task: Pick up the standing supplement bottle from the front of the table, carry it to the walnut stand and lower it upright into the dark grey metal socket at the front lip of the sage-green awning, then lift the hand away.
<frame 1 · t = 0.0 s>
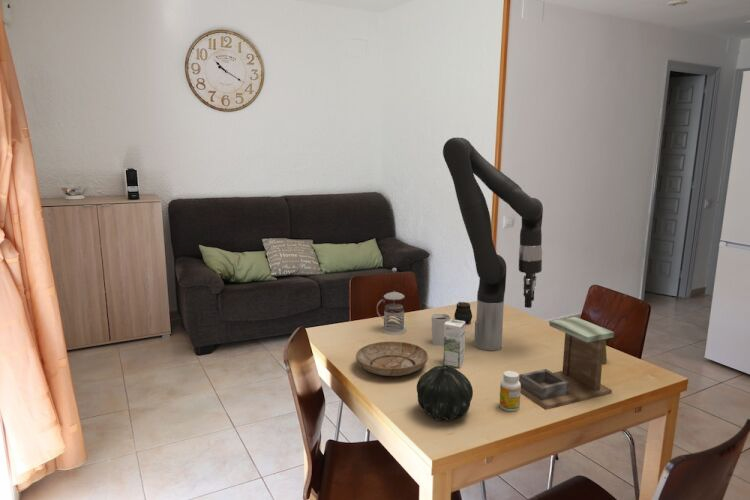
hand: (529, 303, 180), 17 cm above the table, tool pointing down, fingers open, 8 cm apart
squash: (444, 413, 141), on the table
syrup box: (453, 364, 173), on the table
awning stand: (562, 388, 155), on the table
cork: (597, 361, 175), on the table
mate gourd: (463, 323, 213), on the table
white mug: (440, 343, 191), on the table
french press: (391, 330, 204), on the table
ceramic bowl: (391, 368, 170), on the table
supplement bottle: (509, 407, 144), on the table
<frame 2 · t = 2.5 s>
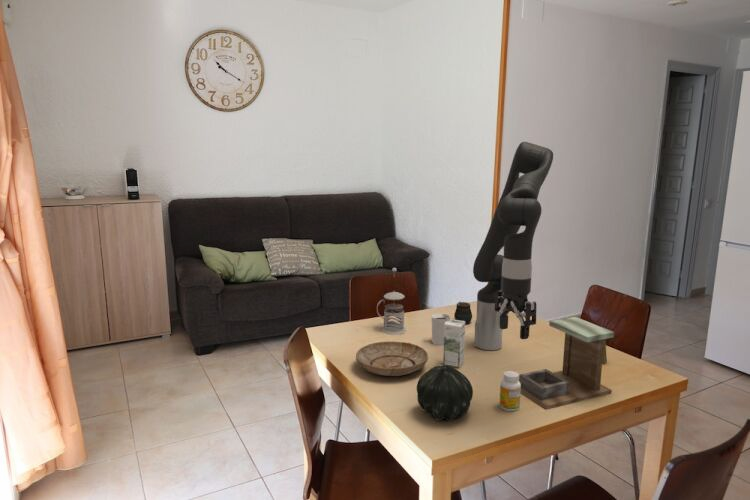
hand: (513, 333, 140), 21 cm above the table, tool pointing down, fingers open, 8 cm apart
nothing on the table moved.
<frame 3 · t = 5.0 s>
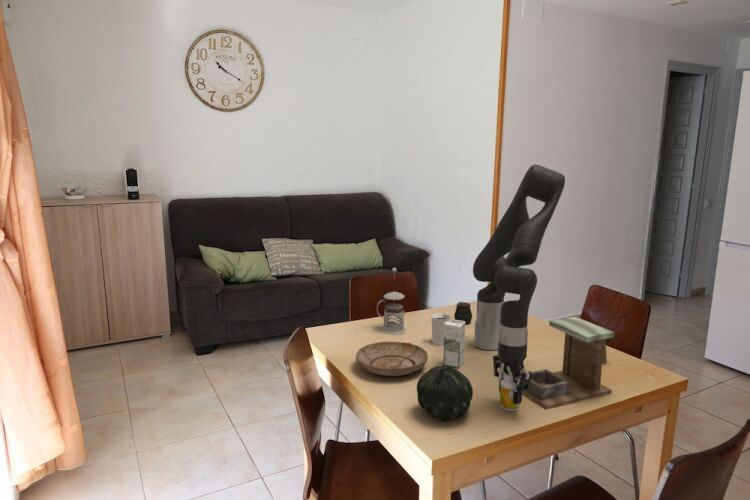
hand: (509, 398, 143), 2 cm above the table, tool pointing down, fingers closed on supplement bottle, 5 cm apart
supplement bottle: (509, 407, 144), on the table, touching gripper
everything else where it was.
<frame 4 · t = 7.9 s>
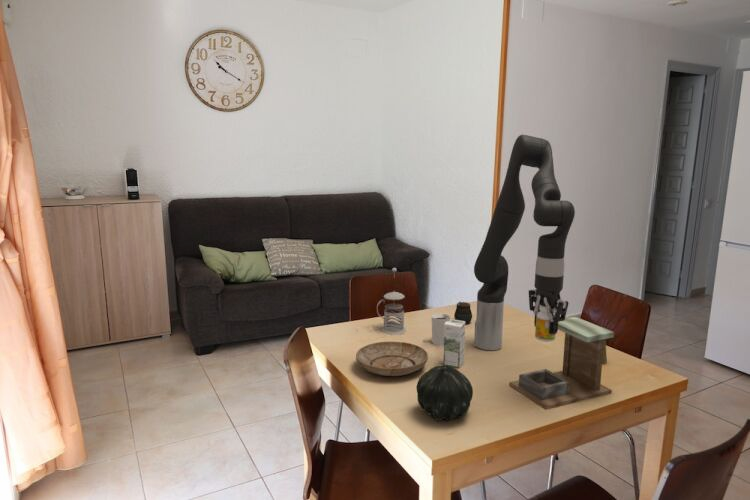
hand: (545, 330, 148), 19 cm above the table, tool pointing down, fingers closed on supplement bottle, 5 cm apart
supplement bottle: (544, 339, 149), point 16 cm above the table, touching gripper
everything else where it was.
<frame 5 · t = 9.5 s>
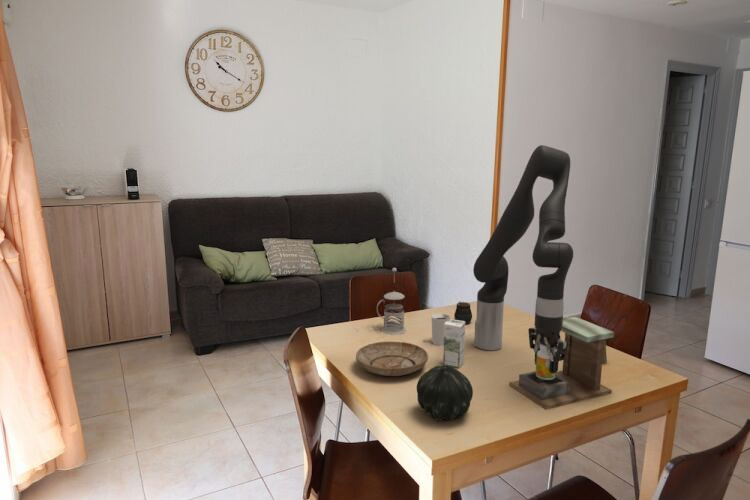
hand: (545, 368, 151), 8 cm above the table, tool pointing down, fingers closed on supplement bottle, 5 cm apart
supplement bottle: (545, 377, 151), point 5 cm above the table, touching gripper
everything else where it was.
when the fingers open (6 cm above the table, at t = 10.9 s): supplement bottle drops 2 cm, resting on awning stand.
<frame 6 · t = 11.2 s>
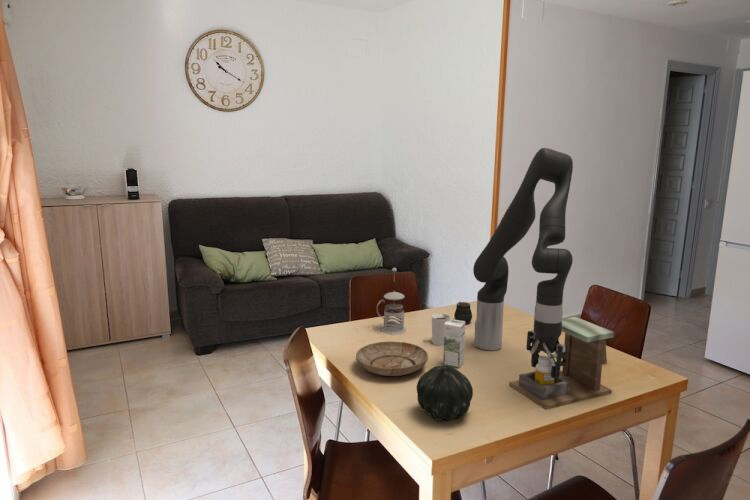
hand: (544, 371, 151), 7 cm above the table, tool pointing down, fingers open, 8 cm apart
supplement bottle: (543, 390, 152), point 1 cm above the table, touching awning stand
everything else where it was.
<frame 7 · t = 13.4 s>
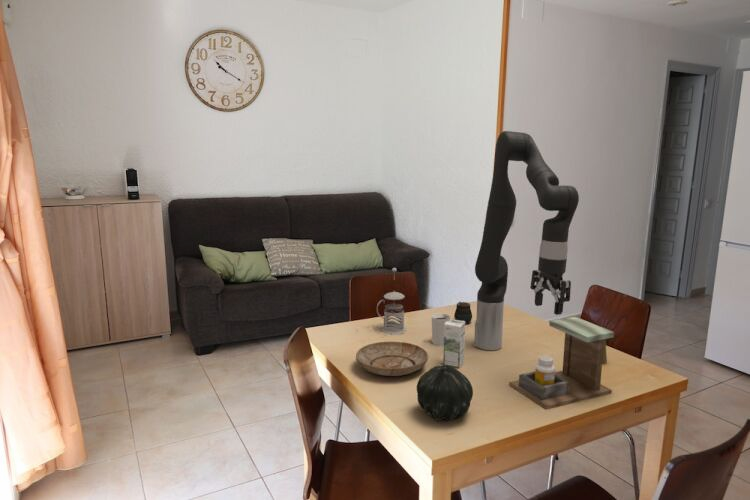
hand: (547, 309, 153), 23 cm above the table, tool pointing down, fingers open, 8 cm apart
nothing on the table moved.
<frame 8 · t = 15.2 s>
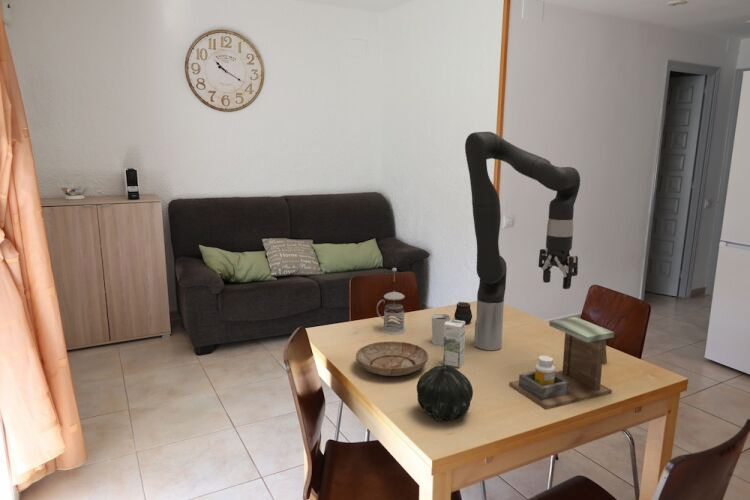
hand: (556, 285, 162), 28 cm above the table, tool pointing down, fingers open, 8 cm apart
nothing on the table moved.
at the end: supplement bottle 0.1 cm from the target spot on the awning stand, point 0.8 cm above the awning stand's base; supplement bottle tilted 0°; the gripper is holding nothing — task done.
